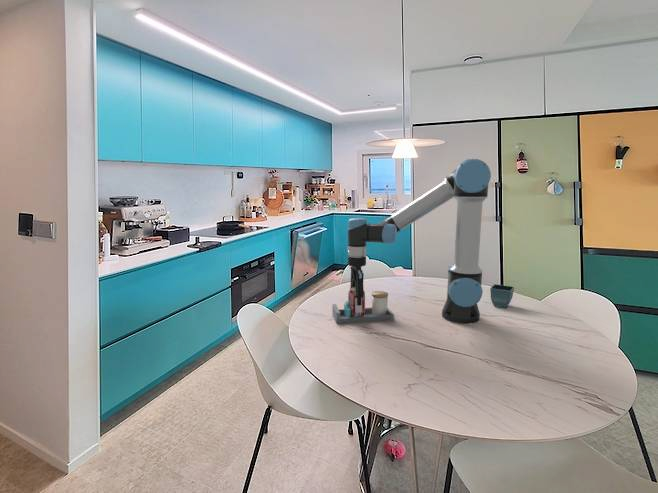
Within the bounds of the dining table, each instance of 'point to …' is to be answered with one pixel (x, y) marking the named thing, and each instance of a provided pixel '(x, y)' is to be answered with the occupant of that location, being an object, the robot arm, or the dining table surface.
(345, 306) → the pusher
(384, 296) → the jar
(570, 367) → the dining table surface
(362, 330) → the dining table surface
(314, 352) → the dining table surface
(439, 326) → the dining table surface
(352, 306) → the soda can
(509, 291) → the flower pot
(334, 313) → the lane
